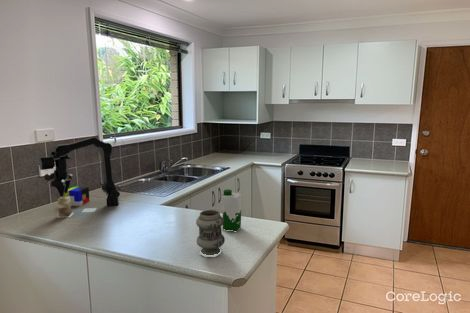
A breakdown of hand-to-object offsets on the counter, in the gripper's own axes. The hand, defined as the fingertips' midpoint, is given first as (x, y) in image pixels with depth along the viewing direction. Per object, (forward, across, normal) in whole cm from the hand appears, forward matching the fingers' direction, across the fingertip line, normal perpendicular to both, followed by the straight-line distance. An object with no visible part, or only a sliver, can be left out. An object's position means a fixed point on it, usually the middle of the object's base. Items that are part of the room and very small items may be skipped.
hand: (63, 194), depth 188 cm
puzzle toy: (+13, -23, 0) cm, 26 cm away
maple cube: (+7, 0, 0) cm, 7 cm away
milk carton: (+13, +35, +90) cm, 97 cm away
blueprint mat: (+12, -3, +5) cm, 14 cm away
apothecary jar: (+13, +60, +77) cm, 98 cm away
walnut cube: (+12, 0, 0) cm, 12 cm away
